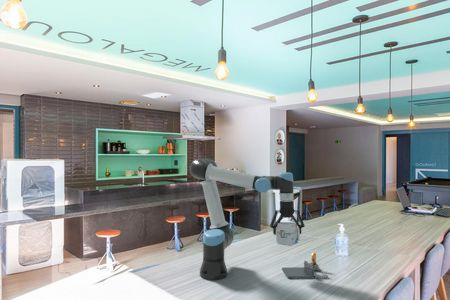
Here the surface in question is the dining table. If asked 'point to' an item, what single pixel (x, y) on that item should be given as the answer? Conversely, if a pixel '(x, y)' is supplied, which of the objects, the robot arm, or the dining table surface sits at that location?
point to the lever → (314, 262)
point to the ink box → (287, 233)
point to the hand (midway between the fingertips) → (287, 240)
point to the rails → (321, 275)
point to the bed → (299, 272)
